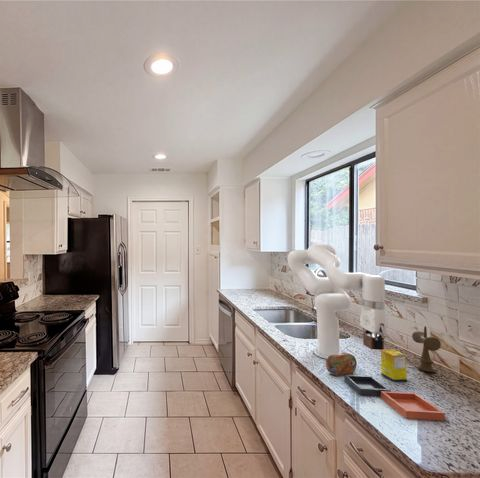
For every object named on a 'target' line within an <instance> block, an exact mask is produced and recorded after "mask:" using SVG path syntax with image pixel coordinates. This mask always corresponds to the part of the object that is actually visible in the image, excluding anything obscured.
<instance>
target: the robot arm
mask: <svg viewBox="0 0 480 478" xmlns="http://www.w3.org/2000/svg"><path fill="white" fill-rule="evenodd" d="M286 259H287V265H288V267H289V270H291V272H292V273H293V274H294V275H295V276H296V278H298V280H299V281H300V283H301V284H302V285H303V287H304V288H305V290H307V292H308V293H309V294H310V295H312V296H316V297H315V298H314V307H315V311H316V312H315V313H316V326H317V327H316V329H317V331H316V334H317V335H316V337H317V343H316V345H317V348H315V349H314V350H313V352H314V355H316V356H317V357H319V358H322V359H325V360H327V358H328V357H329V356H330V355H335V354H340V353H341V351H340V321H339V318H338V316H337V314H336V313H340V312H341V313H342V312H347V311H349V310H350V309H351V308H352V305H353V303H352V300H351V297H350V295H348V293H347V292H346V291H352V290H362V291H361V293H362V294H361V303H362V304H361V307H360V314H359V326H360V327H361V328H362V330H363V333H370V334H374V337H375V340H374V349H373V350H376V351H377V350H379V351H381V350H382V349H383V341H384V342H385V339H386V338H388V333H387V315H386V310H385V309H386V307H385V306H386V280H385V278H384V277H383V276H381V275H373V274H368V273H365V272H344V271H342V270H341V269H340V265H341V259H340V257H339V256H337V251H336V248H335V247H334V246H332V245H330V244H313V245H310V246H309V247H308V248H307V249H295V250H292V251H290V252H289V253H288V254H287V258H286ZM316 264H317V265H318V266H320V267H321V268H323V269H324V270H325V275H326V276H323V277H322V276H318V275H317V274H316V273H315V272H314V270H313V269H312V268H311V267H308V266H307V265H316ZM377 335H379V336H377Z"/></svg>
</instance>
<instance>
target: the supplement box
mask: <svg viewBox="0 0 480 478" xmlns="http://www.w3.org/2000/svg"><path fill="white" fill-rule="evenodd" d="M380 360H381V362H380V364H381V365H380V366H381V376H383V377H385V378H387V379H389V380H391V381H393V382H405V381H406V382H407V380H408V378H407V377H408V376H407V375H408V374H407V354H405V353H403V352H401V351H398V350H396V349H384V350H380Z"/></svg>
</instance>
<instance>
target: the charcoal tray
mask: <svg viewBox="0 0 480 478" xmlns="http://www.w3.org/2000/svg"><path fill="white" fill-rule="evenodd" d="M343 377H344V382H345V383H346V384H347V385H348V386H350V387H351V388H352V390H354V391H355V392H356V393H357V394H358V395H359V396H364V397H365V396H366V397H381V391H387V392H392V390H391V389H389V388H388V387H387V386H385V385H384V384H383V383H382V382H380V381H379V380H378V379H376V378H375V377H374V376H372V375H356V374H355V375H354V374H353V375H352V374H345V375H343Z"/></svg>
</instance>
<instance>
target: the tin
mask: <svg viewBox="0 0 480 478" xmlns="http://www.w3.org/2000/svg"><path fill="white" fill-rule="evenodd" d="M357 365H358V364H357V359H356V357H355V355H353V354H351V353H347V352H340V354H335V355H330V356H329V357H328V358H327V359H325V367H326V371H327V372H328V373H329V374H331V375H333V376H335V377H340V376H344V375H351V374H353V373H355V371H356V369H357Z"/></svg>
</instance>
